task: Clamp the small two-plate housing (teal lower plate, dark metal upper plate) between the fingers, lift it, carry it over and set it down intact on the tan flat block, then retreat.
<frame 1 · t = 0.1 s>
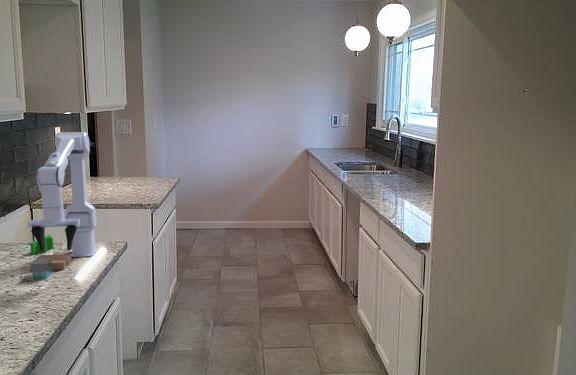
hand: (56, 249, 161), 10 cm above the worktop, tool pointing down, fingers open, 7 cm apart
housing: (43, 276, 167), on the worktop
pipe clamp: (44, 251, 193), on the worktop
tan flat block: (52, 265, 176), on the worktop
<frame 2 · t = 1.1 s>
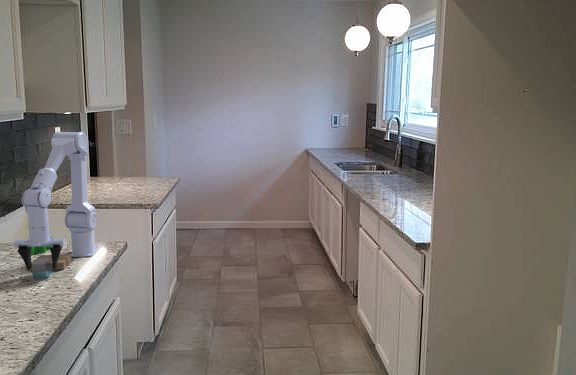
hand: (42, 268, 167), 2 cm above the worktop, tool pointing down, fingers open, 7 cm apart
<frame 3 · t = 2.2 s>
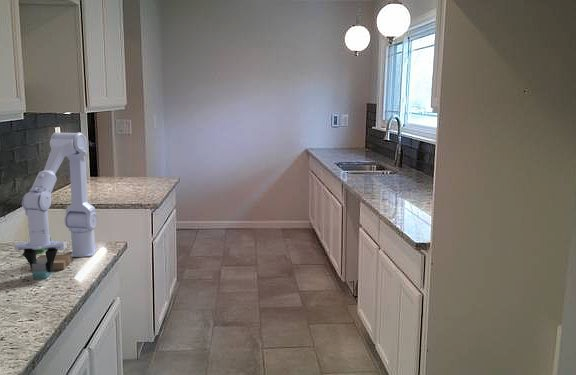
hand: (42, 271, 167), 1 cm above the worktop, tool pointing down, fingers closed on housing, 4 cm apart
housing: (43, 275, 167), on the worktop, touching gripper
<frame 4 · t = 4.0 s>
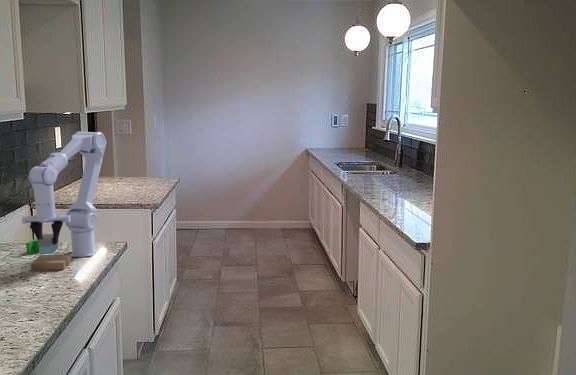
hand: (48, 243, 173), 8 cm above the worktop, tool pointing down, fingers closed on housing, 4 cm apart
housing: (48, 251, 173), point 6 cm above the worktop, touching gripper
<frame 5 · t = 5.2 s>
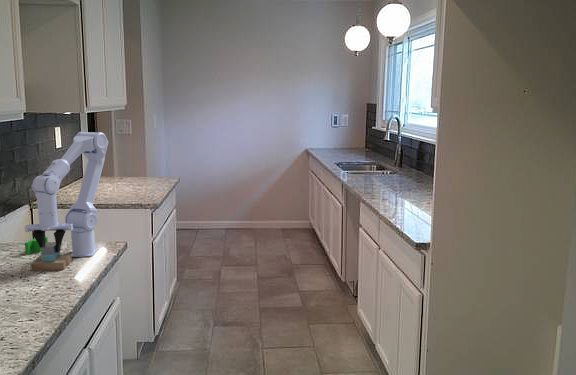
hand: (51, 251, 175), 5 cm above the worktop, tool pointing down, fingers closed on housing, 4 cm apart
housing: (51, 259, 175), point 2 cm above the worktop, touching gripper, tan flat block
when the fingers open (5 cm above the worktop, at t = 5.6 s): housing stays where it is, resting on tan flat block.
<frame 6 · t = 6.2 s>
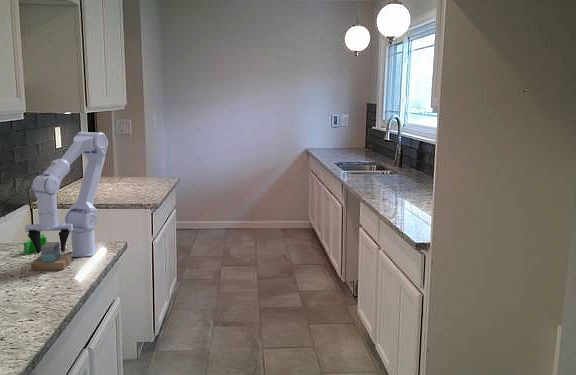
hand: (51, 251, 175), 5 cm above the worktop, tool pointing down, fingers open, 7 cm apart
housing: (51, 259, 175), point 2 cm above the worktop, touching tan flat block
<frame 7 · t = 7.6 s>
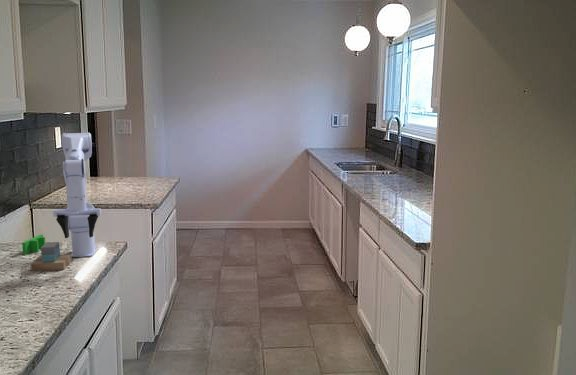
hand: (79, 237, 173), 10 cm above the worktop, tool pointing down, fingers open, 7 cm apart
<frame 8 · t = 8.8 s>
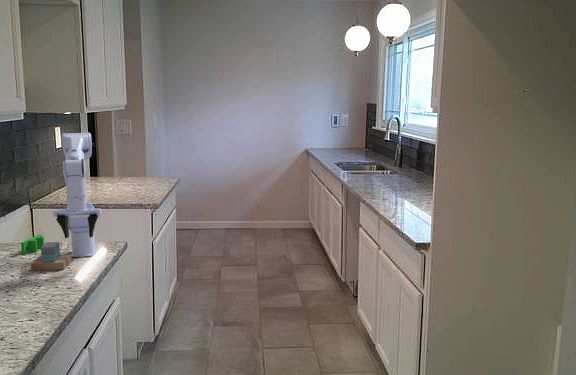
hand: (79, 237, 173), 10 cm above the worktop, tool pointing down, fingers open, 7 cm apart
at the end: housing 0.5 cm off-centre on the tan flat block, point 2.5 cm above the tan flat block's base; housing tilted 0°; the gripper is holding nothing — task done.
